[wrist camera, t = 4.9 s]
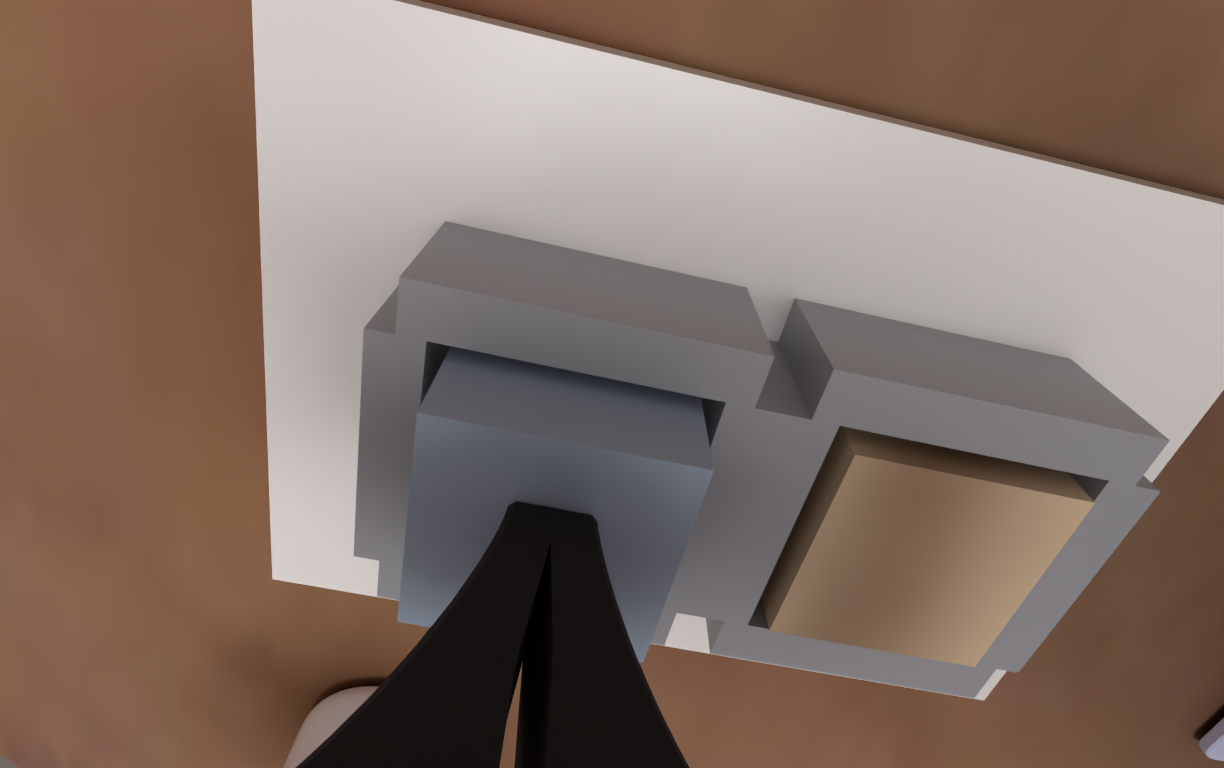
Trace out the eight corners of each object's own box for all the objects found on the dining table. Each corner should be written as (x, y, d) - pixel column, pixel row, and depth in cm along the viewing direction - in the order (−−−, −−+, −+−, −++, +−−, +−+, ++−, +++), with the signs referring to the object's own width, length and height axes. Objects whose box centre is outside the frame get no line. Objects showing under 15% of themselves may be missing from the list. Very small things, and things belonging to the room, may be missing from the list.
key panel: (1277, 212, 14) (1527, 295, 10) (961, 656, 21) (1038, 809, 17) (290, -32, 12) (133, -47, 8) (296, 539, 19) (210, 678, 15)
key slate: (699, 386, 12) (713, 470, 10) (640, 563, 14) (643, 663, 12) (455, 337, 12) (416, 412, 10) (433, 525, 14) (397, 622, 12)
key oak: (1022, 424, 14) (1095, 502, 12) (928, 576, 16) (974, 667, 14) (819, 381, 14) (855, 454, 11) (749, 543, 16) (769, 630, 14)
